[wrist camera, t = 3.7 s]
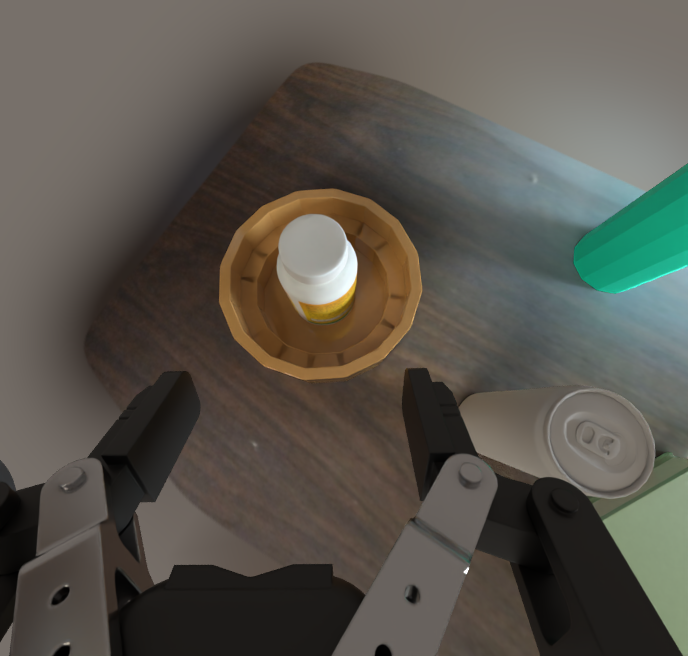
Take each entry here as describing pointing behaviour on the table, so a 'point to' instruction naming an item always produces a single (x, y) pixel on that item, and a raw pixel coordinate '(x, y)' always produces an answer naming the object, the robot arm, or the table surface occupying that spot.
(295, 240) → the supplement bottle
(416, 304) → the bowl
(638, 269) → the candle
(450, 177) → the table surface
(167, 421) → the robot arm
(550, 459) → the beverage can
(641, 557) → the book
